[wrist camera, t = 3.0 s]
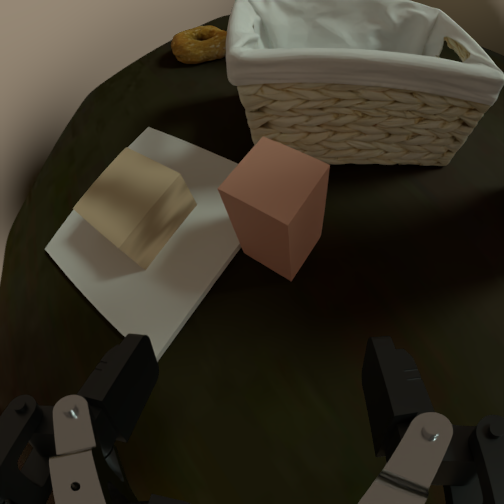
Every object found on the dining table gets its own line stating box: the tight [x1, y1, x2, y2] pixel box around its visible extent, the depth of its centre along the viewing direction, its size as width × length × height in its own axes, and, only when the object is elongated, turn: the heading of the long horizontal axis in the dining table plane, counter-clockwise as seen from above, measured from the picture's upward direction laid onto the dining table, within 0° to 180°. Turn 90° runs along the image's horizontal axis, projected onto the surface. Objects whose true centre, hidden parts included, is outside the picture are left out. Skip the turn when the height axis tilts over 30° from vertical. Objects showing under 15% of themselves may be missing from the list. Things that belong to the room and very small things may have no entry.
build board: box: [45, 127, 241, 362], centre depth 30 cm, size 20×20×1 cm
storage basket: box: [226, 0, 504, 166], centre depth 26 cm, size 24×16×15 cm
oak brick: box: [73, 147, 197, 270], centre depth 27 cm, size 8×8×5 cm
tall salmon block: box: [217, 137, 330, 281], centre depth 23 cm, size 5×5×10 cm
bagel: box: [171, 26, 227, 64], centre depth 41 cm, size 10×11×5 cm
